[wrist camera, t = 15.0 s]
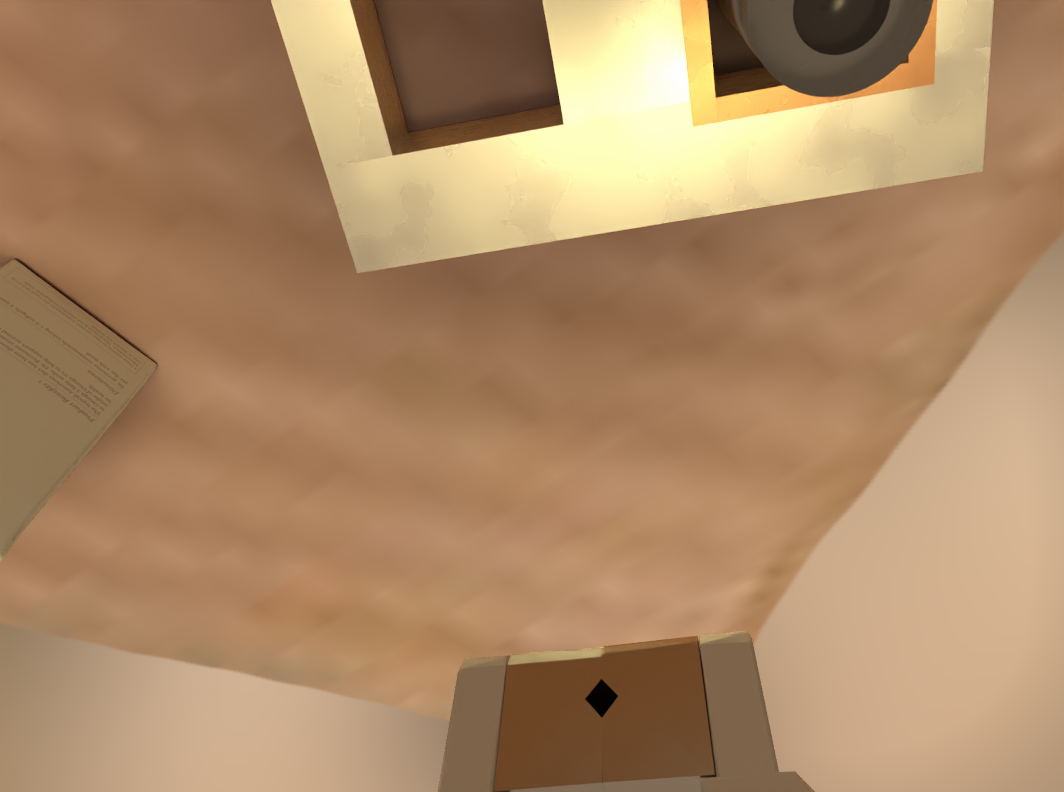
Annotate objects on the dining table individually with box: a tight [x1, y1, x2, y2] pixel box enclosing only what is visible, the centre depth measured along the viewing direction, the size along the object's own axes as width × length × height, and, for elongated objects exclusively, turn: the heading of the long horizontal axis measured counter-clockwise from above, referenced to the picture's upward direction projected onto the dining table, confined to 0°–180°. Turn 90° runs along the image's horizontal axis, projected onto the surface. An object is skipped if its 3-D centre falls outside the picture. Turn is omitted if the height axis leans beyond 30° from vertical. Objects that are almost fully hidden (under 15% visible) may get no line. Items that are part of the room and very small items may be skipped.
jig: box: [271, 0, 994, 273], centre depth 29 cm, size 14×22×3 cm, turn 101°
